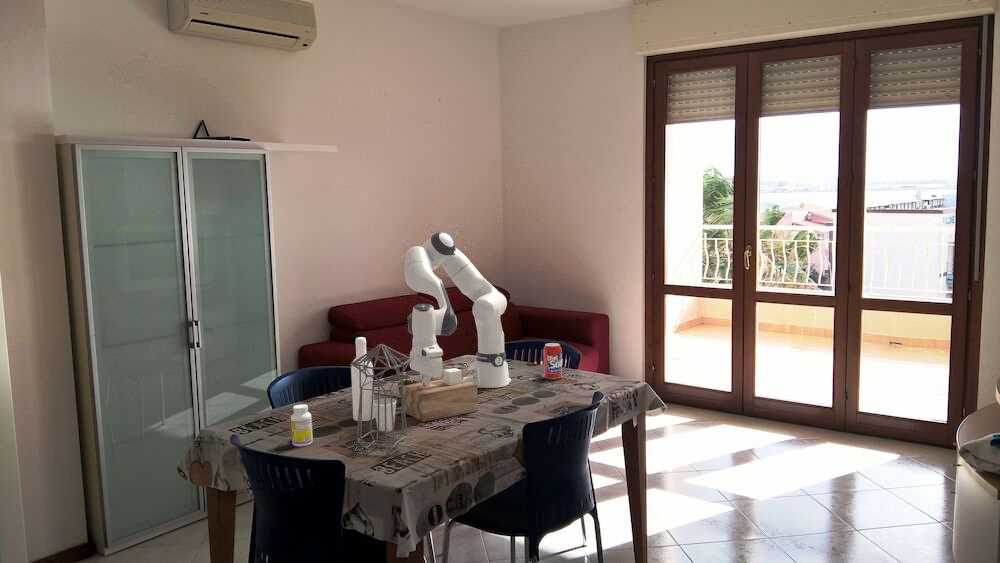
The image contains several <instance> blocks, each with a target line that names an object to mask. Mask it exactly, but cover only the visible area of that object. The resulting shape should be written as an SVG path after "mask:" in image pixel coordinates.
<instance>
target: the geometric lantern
mask: <svg viewBox="0 0 1000 563" xmlns="http://www.w3.org/2000/svg"><path fill="white" fill-rule="evenodd" d="M381 349H382V350H381ZM380 350H381V351H382V353H383V355H384V356H380V355H379V353H380V352H381V351H380ZM391 351H392V352H391ZM393 352H394V353H395V354H397V355H399V356H402V357H399V358H398V357H397V356H396V355H394V354H393ZM365 356H366V357H365ZM364 357H365V358H364ZM363 358H364V359H363ZM373 358H375V359H374V362H373V367H368V364H369V363H370V361H371V362H372V360H373ZM361 359H363V360H361ZM360 360H361V361H360ZM367 360H368V361H367ZM384 360H385V361H386V363H385V362H384ZM402 360H403V361H402ZM411 360H412V359H411V358H410V356H407V355H405V354H403V353H400V352H399V351H397V350H395V349H393V348H391V347H390V346H387V345H385V344H383V343H381V344H380V343H379V344H377V345H376V346H375V347H373V348H372V349H371V350H369V351H367V352H366V354H365V355H363V356H362V357H360V358H359V359H357V360H356V361H354V362H353V361H351V363H350V364H349V365H350V367H351V366H354V367H356V368H357V369H359V371H360V400H359V413H358V421H357V429H356V442H357V443H358V444H359V445H360V446H361V447H363V448H364V449H365V456H367V457H382V458H388V457H391V456H392V455H393V454H394V453H395V452H397V450H399V446H398V445H399V444H400V443H401V442H402V441H403V440H405V439H406V438H408V430H407V429H408V428H407V415H406V414H407V413H405V402H404V390H403V381H404V372H405V371H406V369H407V367H408V366H409V365H410V361H411ZM358 361H360V362H358ZM363 361H364V365H360V364H361V363H362V362H363ZM366 361H367V364H366V365H365V362H366ZM377 361H379V362H380V363H382V365H384V366H383V367H382V366H381V367H376V365H377ZM390 362H391V363H392V365H393V366H392V365H391V364H390ZM398 363H399V364H398ZM358 366H359V367H358ZM360 366H361V367H363V369H360ZM367 368H370V369H372V371H373V375H371V374H370V373H369V371H368V370H367ZM400 368H402V370H400ZM364 370H365V372H364ZM366 370H367V372H368V373H369V375H368V374H366ZM374 370H382V371H380V372H377V373H376V374H375V371H374ZM389 370H395V371H396V375H395V377H394V380H393V381H390V380H389V381H388V380H381V378H382V377H383V375H384V373H385V372H387V371H389ZM361 372H362V373H364V374H365V375H366V379H367V377H371V378H372V379H373V382H372V381H370V382H368V383H366V384H364V383H365V381H366V379H365V381H364V383H363V385H362V386H361ZM400 375H401V377H400ZM377 376H379V377H377ZM397 377H398V379H399V381H396V380H397ZM374 378H375V379H376V380H375V379H374ZM371 382H372V389H364V388H362V387H363V386H365V385H367V384H369V383H371ZM381 382H382V383H391V385H390V388H389V389H385V387H384V386H383V384H382V383H381ZM375 383H377V389H375ZM398 383H401V385H400V386H401V396H400V397H401V398H400V399H401V400H400V401H401V402H400V403H401V432H398V431H395V422H394V420H393V404H392V399H393V391H395V390H396V389H399V388H398V387H400V386H398V385H397V386H396V387H395V388H392V387H393V385H394V384H398ZM381 389H382V390H381ZM362 390H372V402H371V420H369V421H370V423H369V424H370V425H369V431H368V432H366V433H365V434H364V435H362V432H363V430H362V429H363V427H362V424H363V421H362ZM375 392H377V400H378V429H377V430H372V429H373V428H372V427H373V419H372V414H373V395H374V396H375ZM380 392H383V393H384V395H383V396H384V398H383V399H384V403H385V431H381V430H379V399H380ZM388 392H389V398H390V400H391V416H392V431H387V418H386V398H387V393H388ZM373 433H376V439H375V438H374V436H373ZM379 433H384V440H378V436H379ZM388 434H392V441H389V440H388V436H387V435H388ZM395 434H396V435H399V437H398V438H397V439H395ZM368 435H370V436H371V439H372V442H366V441H362V439H363V438H365V437H367V436H368ZM402 436H403V437H402ZM401 437H402V438H401ZM380 443H381V444H380ZM382 443H385V444H382ZM388 443H389V444H388ZM366 445H368V446H366ZM370 446H372V448H371V447H370ZM369 447H370V448H369ZM380 448H381V449H380ZM382 448H383V449H382ZM392 449H394V451H392ZM372 450H373V451H380V452H381V451H383V452H386V455H381V454H369V453H370V452H371V451H372ZM388 452H389V454H388Z"/></svg>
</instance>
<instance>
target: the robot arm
mask: <svg viewBox="0 0 1000 563" xmlns="http://www.w3.org/2000/svg"><path fill="white" fill-rule="evenodd" d="M403 264H404V266H403V270H404V271H403V272H404V278H405V282H406V284H407V286H408V288H410V289H411V290H412V291H415V292H418V293H423V294H427V295H430V296H432V297H433V298H435V299H436V300H437V304H438V306H439V309H434V308H435V307H434V306H433V305H432V304H429V303H419V304H416V305H414V306H413V308H412V312H411V313H410V314H409V315H408V316H407V324H408V326H407V327H408V329H407V331H408V333H409V334H411V335H412V342H411V343H412V347H411V350H410V353H409V358H411V359H412V360H411V361H410V363H409V367H410V369H411V370H413V371H415V372H417V373H419V377H420V379H421V383H422V384H423V385H425V386H429V385H430V381H431V379H437V378H441V377H442V376H443V359H442V356H444V351H443V349H442V348H441V347H440V346H439V344H438V342H437V336H451V335H452V334H453V333H455V331H456V330H457V325H458V321H457V316H456V314H455V312H454V309H453V306H452V305H451V302H450V299H449V295H448V292H447V290H446V288H445V285H444V283H443V280H442V279H441V278H440V277H438V276H437V275H436V274H435V272H434V271H435V270H437V269H438V268H439V267H440V266H441V267H442V268H443V269H444V271H445V273H446V274H447V276H448V277H449V278H450V279H451V281H452V282H453V283H454V284H455V286H456V287H457V288H458V290H459V291H460V292H461V293H462V295H465V296H466V297H467V298H469V299H470V300H471V301H472V302H474V303H473V305H472V309H471V310H472V315H473V317H474V320H475V322H474V323H475V326H476V331H477V347H478V348H477V350H478V351H476V352H475V355H476V358H475V361H474V362H473V363H472V364H470V366H469V367H468V369H467V376H465V377H462V379H463V380H466V381H468V382H471V383H474V384H476V385H477V389H478V388H484V389H494V388H501V387H502V388H503V387H506V386H508V385H510V382H512V379H511V378H510V376H509V374H510V373H509V366H508V363H507V361H506V359H507V358H506V355H507V354H506V350H505V333H504V331H503V326H502V321H501V315H503V314H504V313H505V311H506V309H507V306H508V301H507V300H508V299H507V298H506V296H505V295H504V294H503V293H502V292H500V291H498V289H497V288H496V287H494V286H493V285H492V284H491V282H489V281H488V280H487V279H486V278H485V277H484V276H483V275H482V273H480V271H479V270H478V269H477V268H476V267H475V265H474V264H473V263H472V262H471V261H470V259H469V258H468V257H467V256H466V255H465V254H464V253H463V252H461V250H459V249H458V248H457V246H456V244H455V241H454V238H453V237H452V236H451V235H450V234H449V233H446V232H444V231H437V232H436V233H434V234H432V235H431V237H430V238H428V239H427V240H426V241H425V242H424V243H423V244H422V246H419V245H418V246H416V245H414V246H412V247H410V248H408V249H407V250H406V253H405V257H404V263H403Z"/></svg>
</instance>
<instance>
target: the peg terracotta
mask: <svg viewBox="0 0 1000 563" xmlns="http://www.w3.org/2000/svg"><path fill="white" fill-rule="evenodd" d="M418 388H419V389H421V390H428V389H434V388H436V386H435V385H433V384H431V383H430V385H429V386H425V385H423V384H421V385H418Z"/></svg>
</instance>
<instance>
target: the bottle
mask: <svg viewBox="0 0 1000 563" xmlns="http://www.w3.org/2000/svg"><path fill="white" fill-rule="evenodd" d="M354 343H355V353H356V357H355V358H354V359H353V360H352V362H354V361H356V360H357V359H359V358H360V357H362V356H363V355H365V354H366V353H367V340H366V337H363V336H360V337H359V336H358V337H356V338H355V341H354ZM365 357H366V356H365ZM365 357H364V358H365ZM364 358H363V359H364ZM363 359H361V360H363ZM361 360H360V361H361ZM360 361H358V362H360ZM367 361H368V360H367ZM367 361H366V362H365V365H366V364H367ZM360 365H364V361H363V362H362V363H361V364H360ZM373 366H374V364H373V362H372V360H371V361H370V363H369V364H368V367H373ZM358 367H359V366H358ZM360 369H363V367H361V366H360ZM367 370H368V371H369V373H370V374H371V375H373V371H372V369H370V368H367ZM367 370H366V374H368V375H369V373H368V372H367ZM350 371H351V372H350V373H351V392H352V393H351V398H352V418H353V419H352V420H354V421H356V422H358V413H359V400H360V371H359V369H357V368H356V367H354V366H351V365H350ZM364 372H365V370H364ZM365 379H366V375H365V374H364V373H362V372H361V386H362V385H363V383H364V381H365ZM373 379H374V378H373ZM373 379H372V378H371V377H367V379H366V381H365V383H364V384H366V383H368V382H370V381H372V382H373V381H374V380H373ZM372 382H371V383H369V384H367V385H365V386H363V387H362V388H364V389H372ZM373 401H375V394H374V395H373ZM371 402H372V390H362V422H369V421H371ZM374 419H376V418H375V412H374V406H373V414H372V420H374Z"/></svg>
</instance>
